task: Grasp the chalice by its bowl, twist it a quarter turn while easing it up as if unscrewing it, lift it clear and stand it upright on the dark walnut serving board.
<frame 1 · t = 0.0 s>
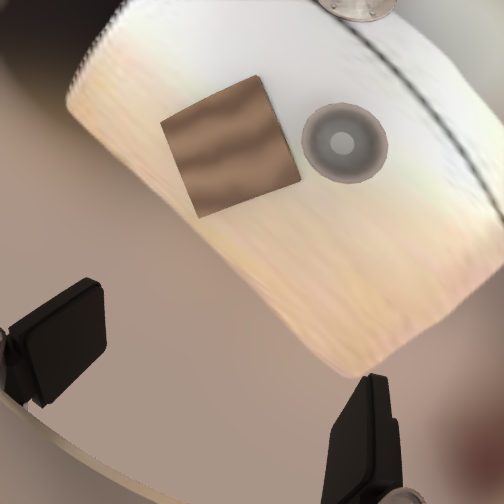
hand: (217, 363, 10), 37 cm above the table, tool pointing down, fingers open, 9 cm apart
serving board: (229, 147, 45), on the table
chalice: (340, 143, 41), on the table
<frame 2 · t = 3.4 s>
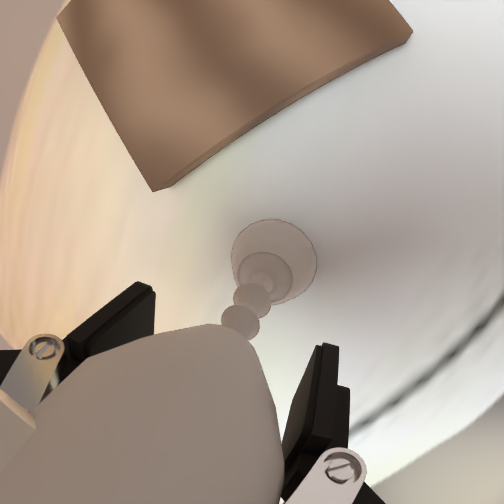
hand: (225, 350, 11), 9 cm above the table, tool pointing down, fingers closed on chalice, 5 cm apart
serving board: (206, 8, 14), on the table
chalice: (273, 261, 19), on the table, touching gripper
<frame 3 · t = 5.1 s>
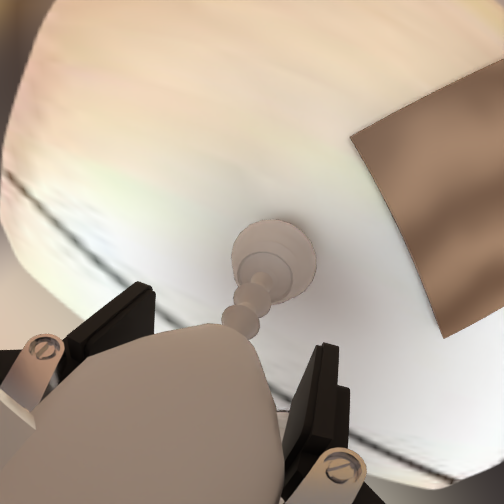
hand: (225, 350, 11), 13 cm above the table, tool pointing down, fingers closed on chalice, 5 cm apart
serving board: (493, 190, 17), on the table
chalice: (273, 261, 19), point 4 cm above the table, touching gripper
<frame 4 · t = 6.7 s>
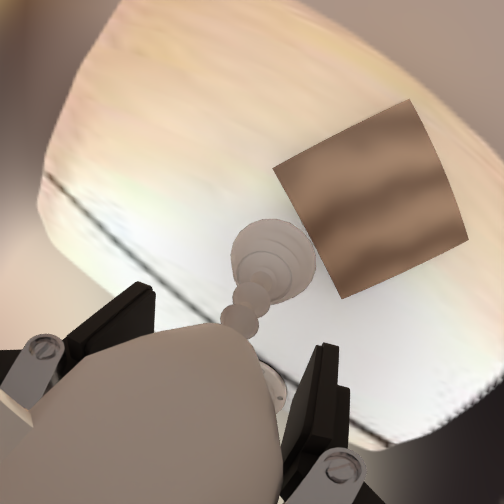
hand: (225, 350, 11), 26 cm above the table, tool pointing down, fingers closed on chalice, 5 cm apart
serving board: (376, 199, 32), on the table
chalice: (273, 260, 19), point 17 cm above the table, touching gripper
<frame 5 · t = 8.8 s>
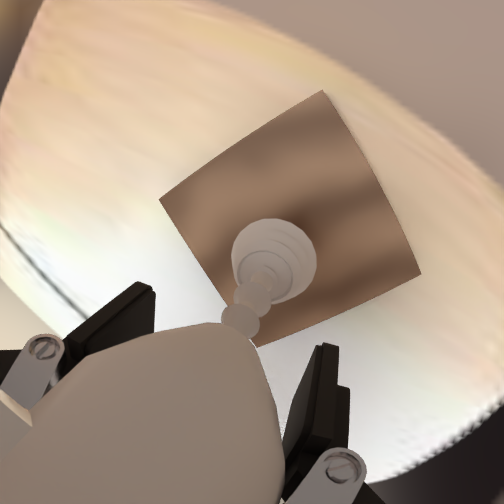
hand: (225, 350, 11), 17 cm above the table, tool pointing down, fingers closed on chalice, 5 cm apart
serving board: (291, 227, 26), on the table
chalice: (273, 260, 19), point 8 cm above the table, touching gripper
when the fingers open (12 cm above the table, at t = 10.3 s): chalice drops 1 cm, resting on serving board.
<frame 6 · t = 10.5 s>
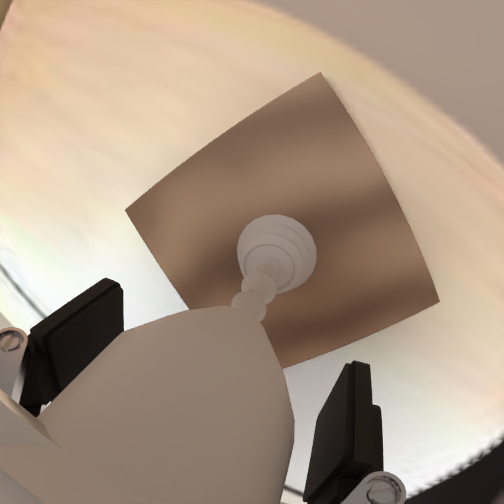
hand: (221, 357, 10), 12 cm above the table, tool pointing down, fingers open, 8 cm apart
serving board: (282, 244, 22), on the table
chalice: (276, 253, 20), point 2 cm above the table, touching serving board
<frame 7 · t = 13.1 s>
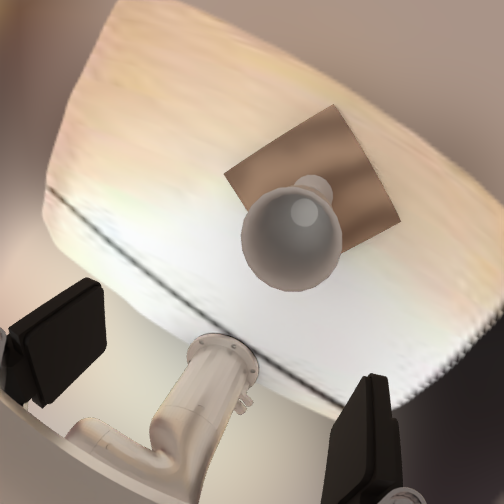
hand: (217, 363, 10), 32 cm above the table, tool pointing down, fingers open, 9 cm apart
serving board: (313, 192, 39), on the table
chalice: (312, 195, 37), point 2 cm above the table, touching serving board
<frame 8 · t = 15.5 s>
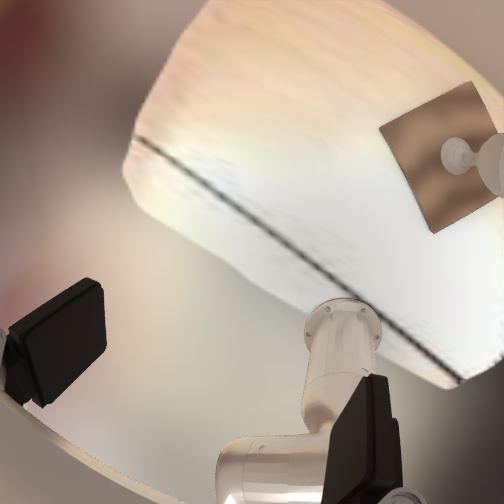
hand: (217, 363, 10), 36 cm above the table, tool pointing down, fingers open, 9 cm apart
serving board: (452, 155, 36), on the table
chalice: (456, 156, 34), point 2 cm above the table, touching serving board
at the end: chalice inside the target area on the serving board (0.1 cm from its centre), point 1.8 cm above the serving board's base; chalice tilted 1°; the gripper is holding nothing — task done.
